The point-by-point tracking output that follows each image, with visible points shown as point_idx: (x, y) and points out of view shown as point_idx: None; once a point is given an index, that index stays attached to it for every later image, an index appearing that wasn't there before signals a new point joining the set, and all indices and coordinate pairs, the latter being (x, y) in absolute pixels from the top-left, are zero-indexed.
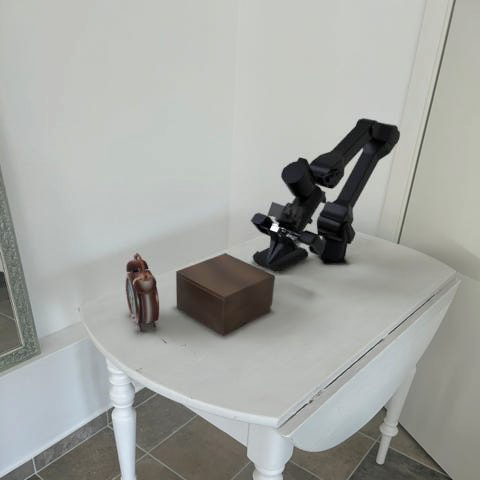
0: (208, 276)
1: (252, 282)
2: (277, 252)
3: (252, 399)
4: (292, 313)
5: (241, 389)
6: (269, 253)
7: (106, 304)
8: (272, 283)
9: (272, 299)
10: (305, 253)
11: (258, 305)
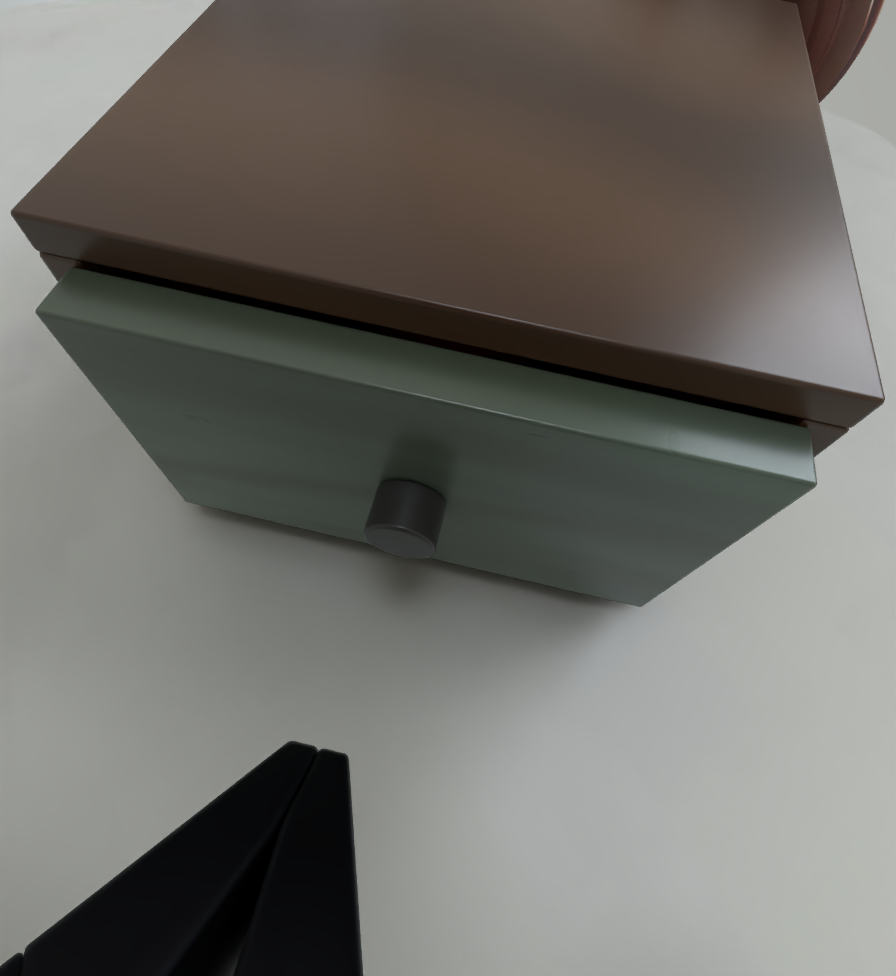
0: (571, 13)
1: (199, 47)
2: (46, 937)
3: (87, 27)
4: (22, 546)
5: (137, 43)
6: (316, 891)
7: (882, 181)
8: None
9: (165, 473)
10: None
11: None
